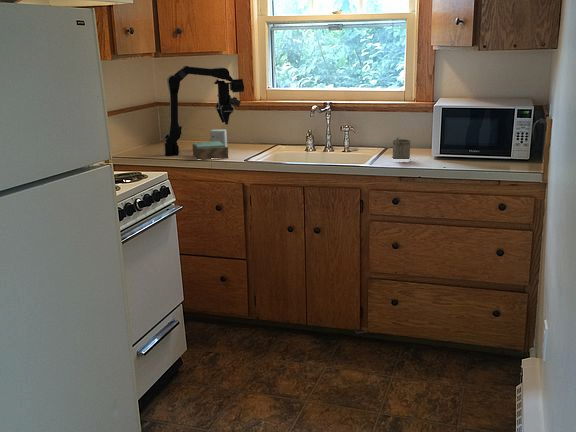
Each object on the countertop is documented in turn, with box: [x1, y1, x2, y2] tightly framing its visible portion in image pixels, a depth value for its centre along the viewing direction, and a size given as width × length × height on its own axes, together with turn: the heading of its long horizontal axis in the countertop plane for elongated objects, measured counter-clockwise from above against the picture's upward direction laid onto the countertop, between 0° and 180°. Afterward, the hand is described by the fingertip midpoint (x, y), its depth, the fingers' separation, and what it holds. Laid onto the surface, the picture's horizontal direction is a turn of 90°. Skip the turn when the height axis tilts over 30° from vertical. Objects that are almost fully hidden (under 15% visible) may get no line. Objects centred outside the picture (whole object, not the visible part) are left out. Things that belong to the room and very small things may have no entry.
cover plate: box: [193, 141, 224, 149], centre depth 313 cm, size 13×13×2 cm
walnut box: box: [192, 143, 229, 160], centre depth 314 cm, size 15×16×6 cm
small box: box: [209, 129, 228, 147], centre depth 333 cm, size 8×6×10 cm
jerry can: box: [391, 137, 412, 159], centre depth 294 cm, size 14×10×12 cm
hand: (224, 123), depth 325 cm, fingers open, 9 cm apart
